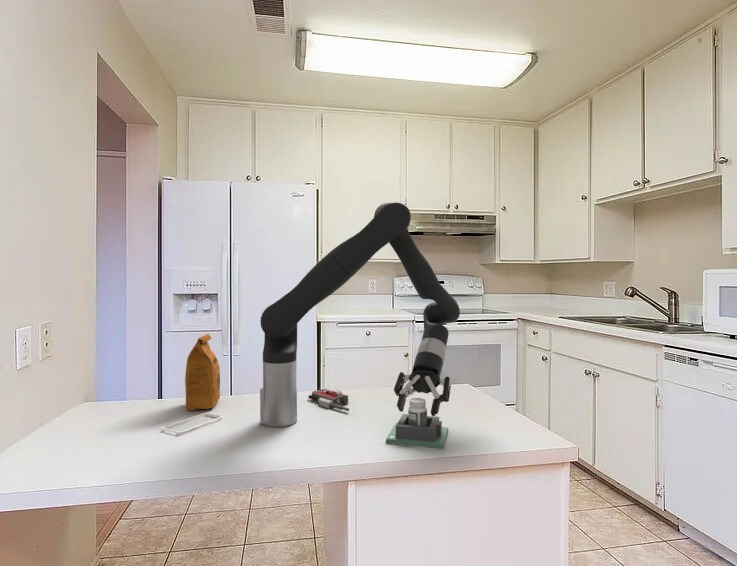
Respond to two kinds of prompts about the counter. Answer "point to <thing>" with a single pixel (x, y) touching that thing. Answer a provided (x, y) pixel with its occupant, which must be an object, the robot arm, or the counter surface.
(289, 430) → the counter surface
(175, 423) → the phone case
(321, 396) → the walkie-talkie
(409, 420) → the pill bottle
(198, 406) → the coffee package
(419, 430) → the socket board
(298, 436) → the counter surface
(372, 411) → the counter surface
